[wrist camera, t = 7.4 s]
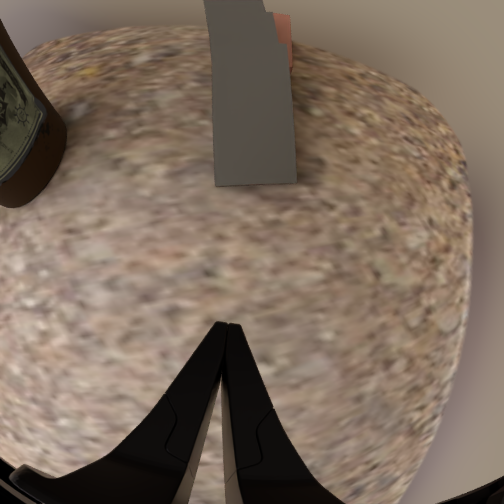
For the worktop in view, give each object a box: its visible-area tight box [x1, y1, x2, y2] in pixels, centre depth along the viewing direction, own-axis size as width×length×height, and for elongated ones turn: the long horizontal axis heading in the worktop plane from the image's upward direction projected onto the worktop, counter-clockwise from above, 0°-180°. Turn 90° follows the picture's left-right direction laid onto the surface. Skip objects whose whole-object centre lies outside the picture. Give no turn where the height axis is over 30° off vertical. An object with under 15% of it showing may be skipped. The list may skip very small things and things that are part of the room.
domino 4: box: [273, 13, 292, 74], centre depth 21 cm, size 2×5×10 cm
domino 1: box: [212, 42, 297, 187], centre depth 16 cm, size 2×5×10 cm
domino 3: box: [204, 0, 266, 37], centre depth 17 cm, size 2×5×10 cm
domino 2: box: [208, 12, 279, 60], centre depth 17 cm, size 2×5×10 cm
